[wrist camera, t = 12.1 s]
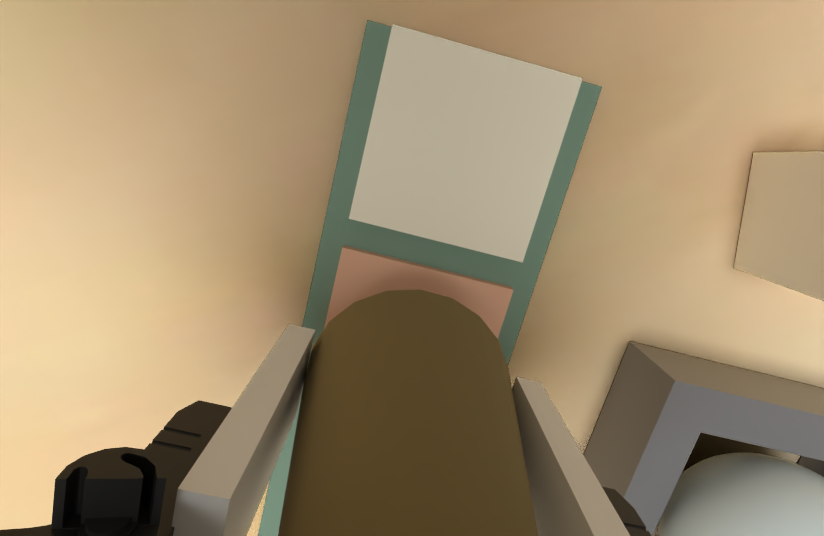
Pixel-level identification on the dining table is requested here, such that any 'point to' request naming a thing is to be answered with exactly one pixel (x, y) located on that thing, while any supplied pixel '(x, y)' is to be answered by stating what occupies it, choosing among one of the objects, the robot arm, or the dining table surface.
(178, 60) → the dining table surface
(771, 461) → the white ball
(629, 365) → the base
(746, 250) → the die
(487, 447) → the brown game pawn
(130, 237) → the dining table surface
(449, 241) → the track
